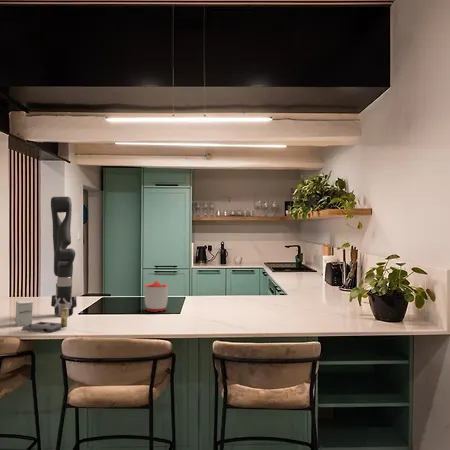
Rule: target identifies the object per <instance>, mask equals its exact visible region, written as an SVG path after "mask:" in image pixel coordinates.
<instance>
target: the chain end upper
mask: <svg viewBox="0 0 450 450" xmlns="http://www.w3.org/2000/svg"><path fill="white" fill-rule="evenodd" d="M31 328H42V329H47V331H46V333H55V332H57V330H58V331H61V330H62V327H61V322H49V321H38V322H35V323H32V324H31Z"/></svg>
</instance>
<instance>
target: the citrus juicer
mask: <svg viewBox="0 0 450 450" xmlns="http://www.w3.org/2000/svg"><path fill="white" fill-rule="evenodd" d="M168 295H169V284H167V283H163V284H161V283H160V282H159V281H158V280H155V281H154V282H153V283H148V284H144V304H145V308H146V311H147V312H149V311H150V313H159V312H158V311H161V312H164V311H163V310H166V308H167V305H168V299H169V298H168V297H169V296H168Z"/></svg>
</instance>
